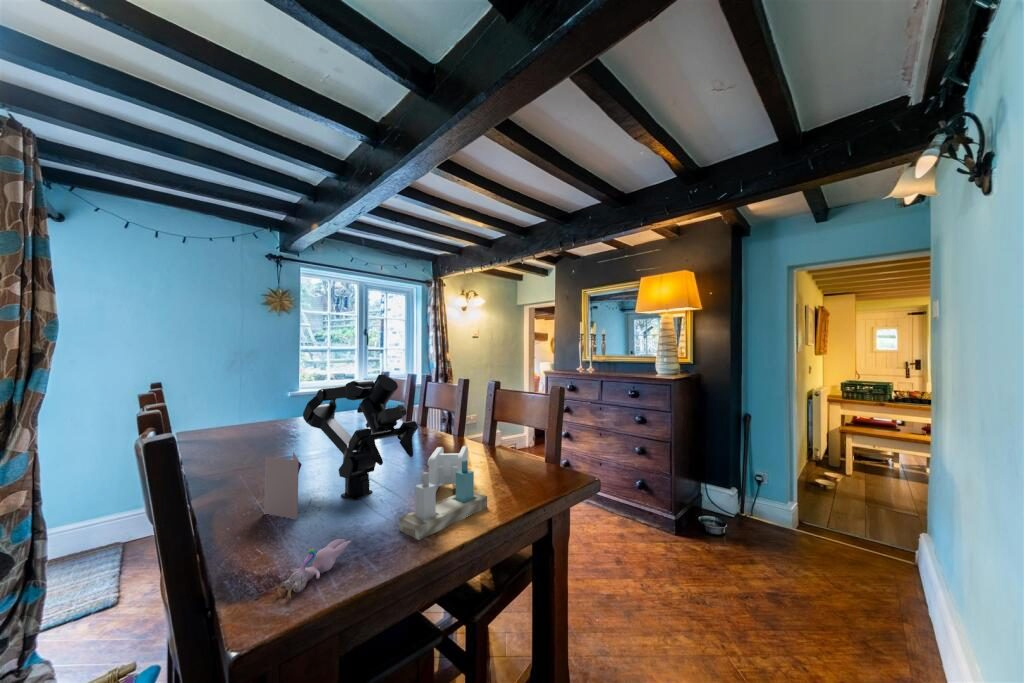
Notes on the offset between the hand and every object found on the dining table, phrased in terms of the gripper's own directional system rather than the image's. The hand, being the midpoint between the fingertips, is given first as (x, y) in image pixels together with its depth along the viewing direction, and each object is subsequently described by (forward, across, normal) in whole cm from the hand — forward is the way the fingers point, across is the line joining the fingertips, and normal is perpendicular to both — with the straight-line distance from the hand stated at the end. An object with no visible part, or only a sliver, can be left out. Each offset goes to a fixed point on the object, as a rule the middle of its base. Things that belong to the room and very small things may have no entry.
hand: (397, 460), depth 96 cm
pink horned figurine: (+19, -25, +1) cm, 31 cm away
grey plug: (+19, -1, 0) cm, 19 cm away
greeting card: (-6, -20, +25) cm, 33 cm away
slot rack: (+19, +6, 0) cm, 20 cm away
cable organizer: (+8, +20, +12) cm, 25 cm away
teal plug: (+19, +12, 0) cm, 22 cm away
